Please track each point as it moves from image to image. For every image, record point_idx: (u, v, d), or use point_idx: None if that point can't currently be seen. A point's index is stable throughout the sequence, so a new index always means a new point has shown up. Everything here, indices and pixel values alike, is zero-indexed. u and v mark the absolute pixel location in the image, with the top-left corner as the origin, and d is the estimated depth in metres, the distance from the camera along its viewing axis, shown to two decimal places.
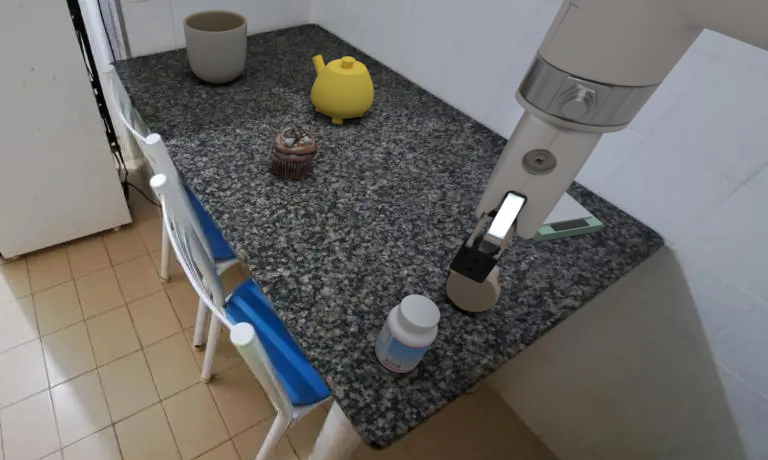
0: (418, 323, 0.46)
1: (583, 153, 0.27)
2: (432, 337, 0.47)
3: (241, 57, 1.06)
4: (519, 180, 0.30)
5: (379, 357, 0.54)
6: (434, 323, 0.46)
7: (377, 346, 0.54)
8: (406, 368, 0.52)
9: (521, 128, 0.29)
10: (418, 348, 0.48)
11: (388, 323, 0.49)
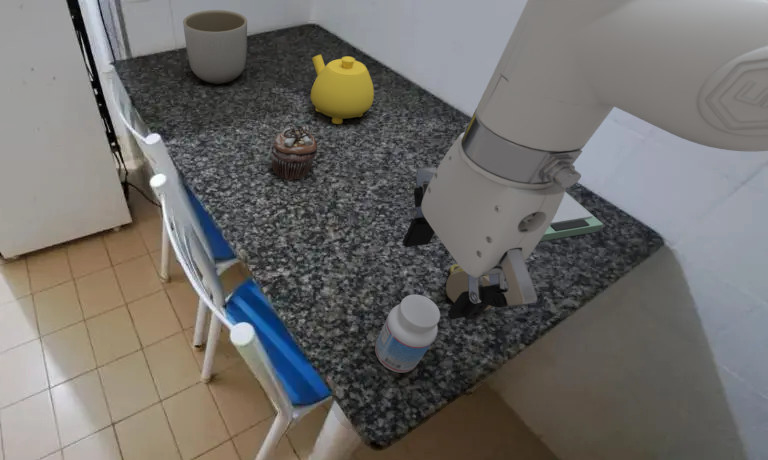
0: (418, 323, 0.46)
1: None
2: (432, 337, 0.47)
3: (241, 57, 1.06)
4: (516, 240, 0.31)
5: (379, 357, 0.54)
6: (434, 323, 0.46)
7: (377, 346, 0.54)
8: (406, 368, 0.52)
9: (506, 201, 0.29)
10: (418, 348, 0.48)
11: (388, 323, 0.49)
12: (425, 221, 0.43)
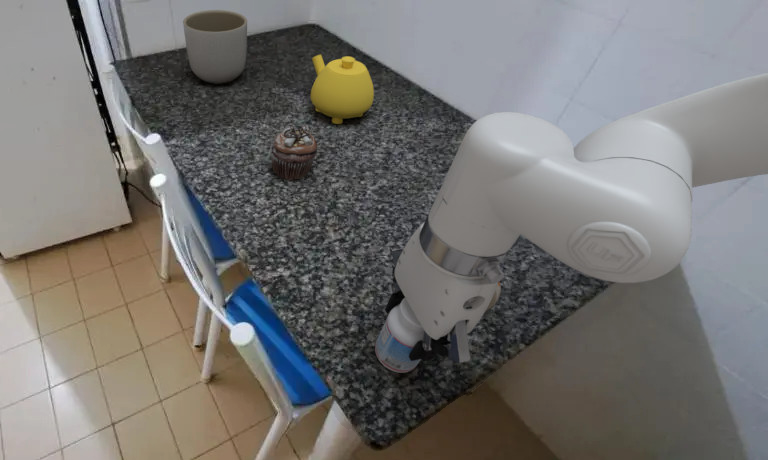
0: (418, 323, 0.46)
1: (496, 287, 0.37)
2: None
3: (241, 57, 1.06)
4: (463, 315, 0.39)
5: (379, 357, 0.54)
6: None
7: (377, 346, 0.54)
8: (406, 368, 0.52)
9: (452, 287, 0.37)
10: None
11: (388, 323, 0.49)
12: (403, 295, 0.50)
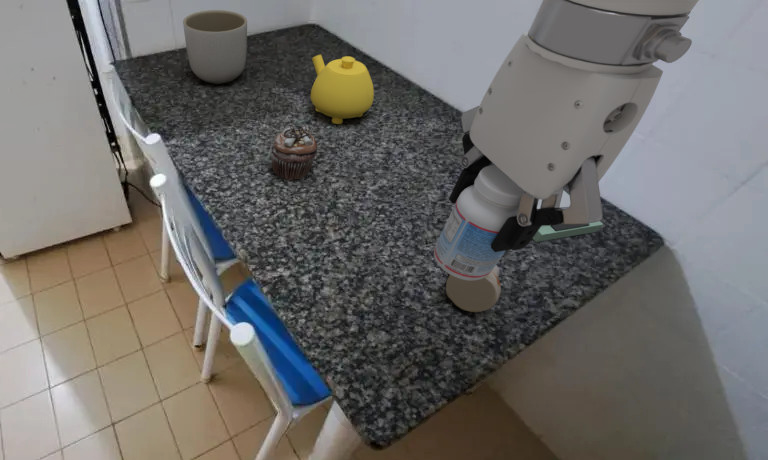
0: (508, 193, 0.33)
1: (654, 91, 0.25)
2: None
3: (241, 57, 1.06)
4: (599, 143, 0.26)
5: (442, 262, 0.41)
6: None
7: (439, 249, 0.41)
8: (480, 271, 0.39)
9: (591, 91, 0.25)
10: None
11: (460, 206, 0.37)
12: (477, 171, 0.38)
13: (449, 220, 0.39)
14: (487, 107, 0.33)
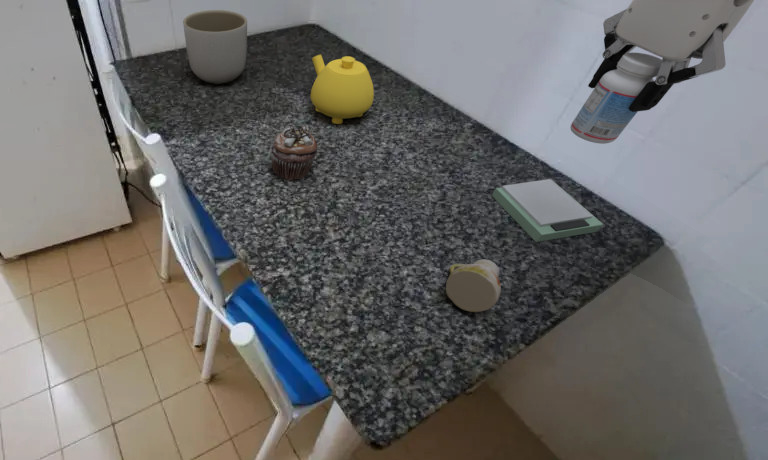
0: (648, 65, 0.50)
1: None
2: None
3: (241, 57, 1.06)
4: (728, 14, 0.43)
5: (581, 132, 0.58)
6: None
7: (578, 122, 0.58)
8: (613, 134, 0.56)
9: None
10: None
11: (605, 83, 0.53)
12: (615, 60, 0.54)
13: (591, 97, 0.56)
14: (637, 6, 0.49)
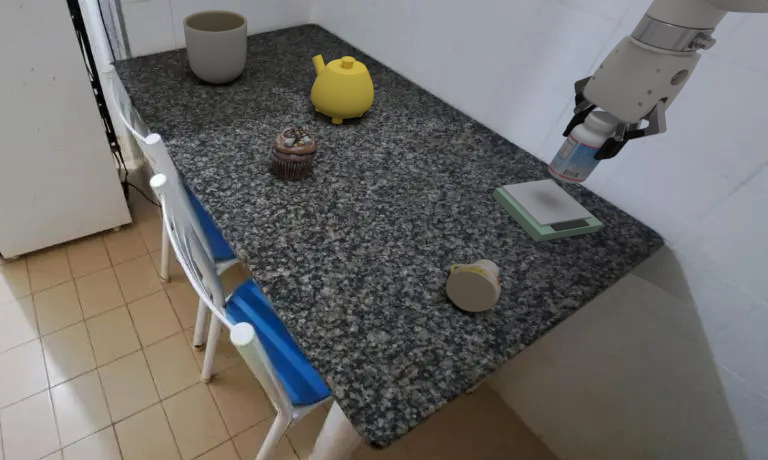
0: (608, 123, 0.60)
1: (696, 64, 0.52)
2: None
3: (241, 57, 1.06)
4: (667, 90, 0.53)
5: (556, 173, 0.68)
6: None
7: (554, 165, 0.68)
8: (582, 176, 0.66)
9: (666, 64, 0.52)
10: None
11: (575, 135, 0.64)
12: (584, 115, 0.65)
13: (564, 145, 0.66)
14: (599, 75, 0.60)
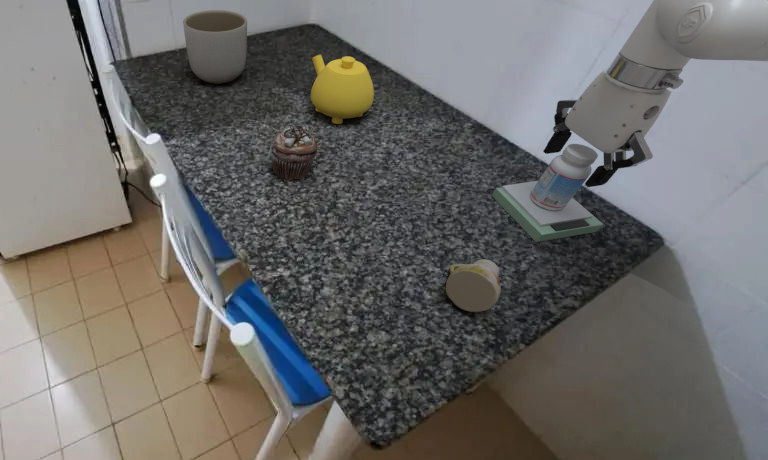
0: (583, 157, 0.65)
1: None
2: (589, 171, 0.66)
3: (241, 57, 1.06)
4: (640, 124, 0.57)
5: (537, 200, 0.73)
6: (595, 157, 0.65)
7: (535, 193, 0.73)
8: (561, 204, 0.71)
9: (638, 100, 0.55)
10: (578, 180, 0.67)
11: (553, 166, 0.68)
12: (563, 134, 0.69)
13: (544, 175, 0.71)
14: (578, 107, 0.63)
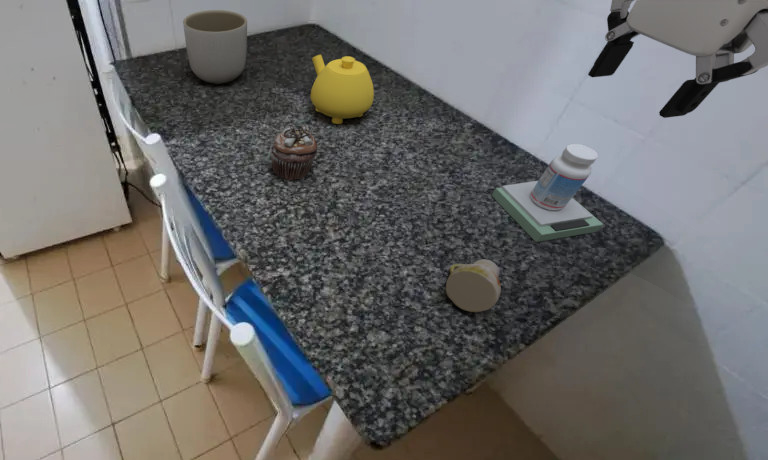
0: (583, 157, 0.65)
1: None
2: (589, 171, 0.66)
3: (241, 57, 1.06)
4: None
5: (537, 200, 0.73)
6: (595, 157, 0.65)
7: (535, 193, 0.73)
8: (561, 204, 0.71)
9: None
10: (578, 180, 0.67)
11: (553, 166, 0.68)
12: (621, 43, 0.46)
13: (544, 175, 0.71)
14: None
